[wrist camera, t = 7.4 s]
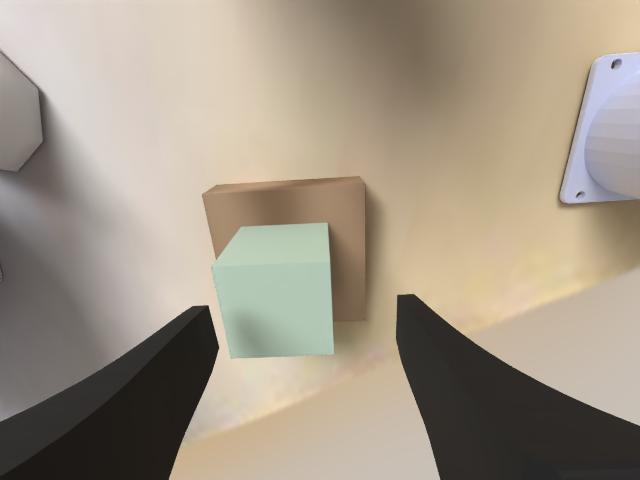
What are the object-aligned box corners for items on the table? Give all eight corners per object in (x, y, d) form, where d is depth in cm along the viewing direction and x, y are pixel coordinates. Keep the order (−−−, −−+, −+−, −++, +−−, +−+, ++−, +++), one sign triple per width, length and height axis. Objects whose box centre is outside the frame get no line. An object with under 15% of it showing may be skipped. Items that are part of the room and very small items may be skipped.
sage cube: (327, 222, 17) (330, 261, 12) (330, 296, 19) (334, 354, 14) (241, 226, 17) (211, 266, 12) (252, 300, 19) (230, 358, 14)
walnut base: (358, 174, 19) (364, 184, 16) (359, 294, 22) (365, 320, 20) (219, 183, 19) (201, 194, 16) (241, 300, 23) (230, 326, 20)
